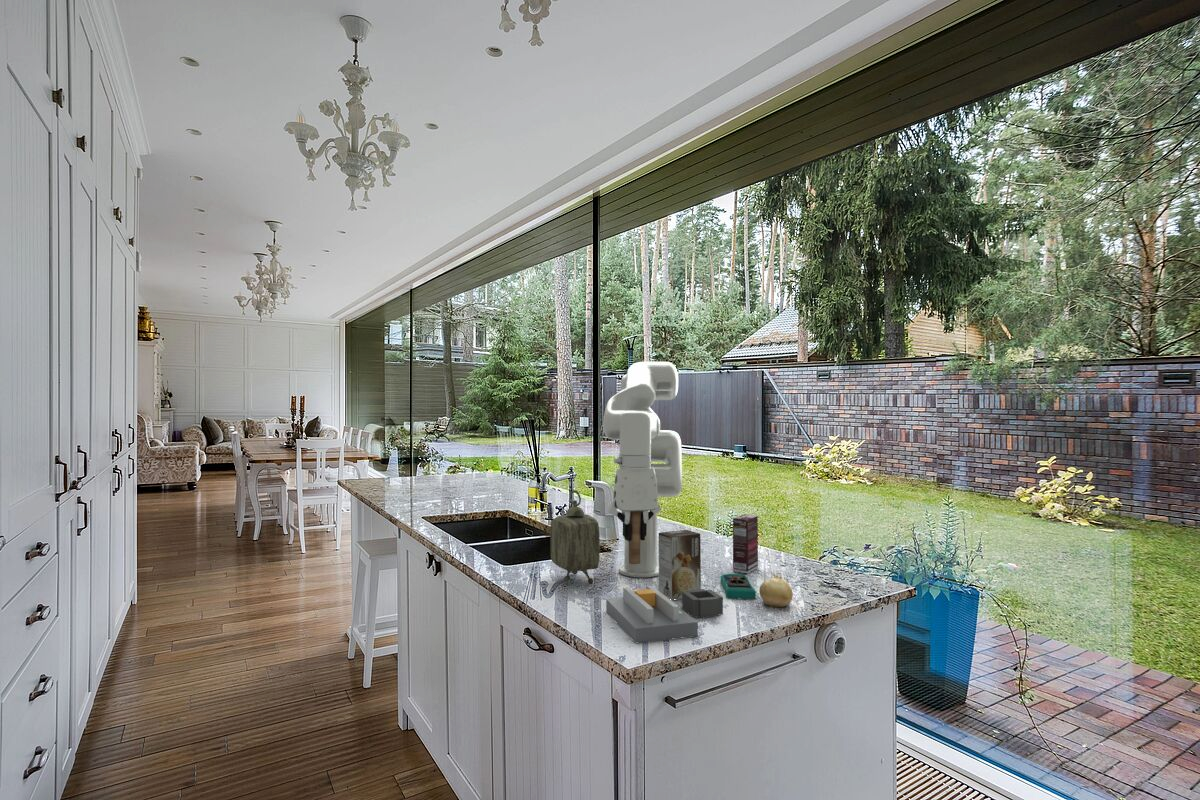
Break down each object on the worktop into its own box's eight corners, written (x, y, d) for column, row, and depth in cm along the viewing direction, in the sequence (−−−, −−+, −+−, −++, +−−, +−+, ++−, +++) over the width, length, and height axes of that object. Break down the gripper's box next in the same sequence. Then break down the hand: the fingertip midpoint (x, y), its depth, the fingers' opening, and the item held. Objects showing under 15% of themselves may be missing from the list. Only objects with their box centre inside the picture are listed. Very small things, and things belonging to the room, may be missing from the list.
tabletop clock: (599, 585, 167) (600, 492, 167) (568, 589, 163) (569, 494, 163) (577, 572, 180) (578, 486, 180) (548, 575, 176) (549, 488, 176)
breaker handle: (634, 603, 142) (634, 590, 142) (650, 602, 143) (650, 589, 143) (638, 607, 139) (638, 594, 139) (655, 606, 140) (655, 592, 140)
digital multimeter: (746, 584, 171) (746, 573, 171) (756, 600, 156) (756, 589, 156) (720, 583, 171) (720, 572, 171) (726, 600, 156) (726, 588, 156)
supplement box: (743, 565, 188) (743, 513, 188) (758, 568, 185) (758, 515, 186) (731, 571, 181) (732, 517, 181) (747, 574, 178) (747, 519, 179)
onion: (799, 608, 149) (799, 578, 149) (770, 611, 147) (770, 581, 147) (780, 598, 157) (780, 570, 157) (753, 600, 155) (753, 572, 155)
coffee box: (686, 589, 164) (687, 528, 164) (701, 596, 158) (701, 533, 158) (657, 594, 159) (658, 532, 159) (671, 601, 154) (672, 536, 154)
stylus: (627, 561, 148) (627, 503, 148) (638, 561, 149) (638, 502, 149) (631, 564, 145) (631, 504, 146) (642, 563, 146) (642, 504, 146)
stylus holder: (680, 607, 149) (680, 591, 149) (709, 605, 151) (709, 588, 151) (694, 618, 141) (694, 600, 141) (724, 615, 144) (724, 598, 144)
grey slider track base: (606, 611, 145) (606, 586, 146) (661, 606, 150) (661, 581, 150) (635, 643, 126) (635, 613, 126) (697, 636, 130) (697, 607, 130)
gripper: (607, 464, 142) (606, 544, 141) (672, 463, 146) (672, 541, 146) (598, 461, 149) (597, 538, 148) (660, 460, 154) (660, 535, 153)
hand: (634, 539), depth 147 cm, fingers closed on stylus, 2 cm apart
